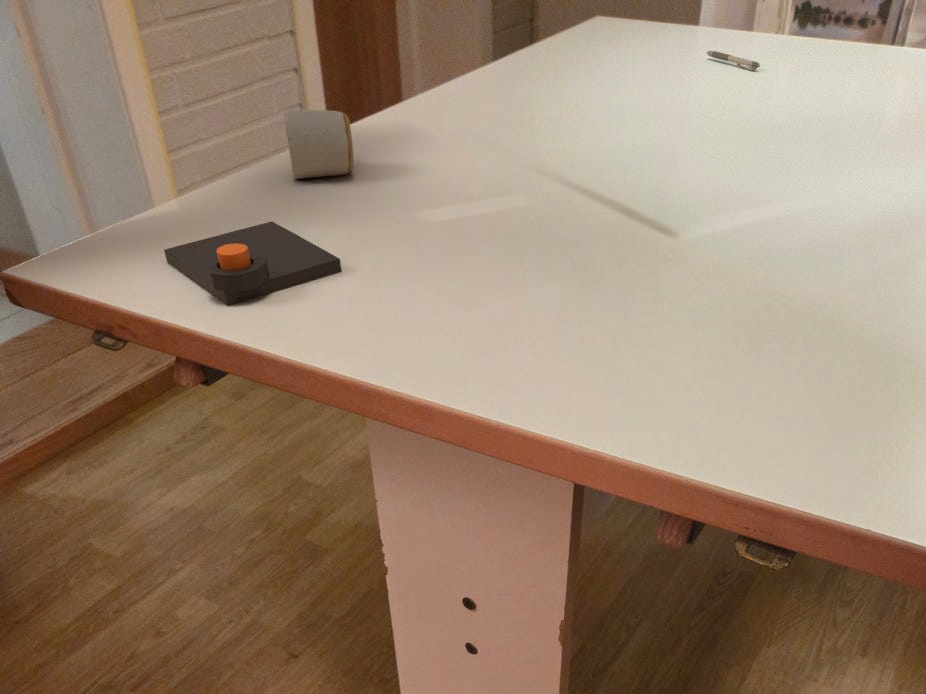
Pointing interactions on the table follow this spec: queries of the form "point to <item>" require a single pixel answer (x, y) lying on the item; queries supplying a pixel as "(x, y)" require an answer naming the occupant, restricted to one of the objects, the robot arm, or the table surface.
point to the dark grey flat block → (253, 263)
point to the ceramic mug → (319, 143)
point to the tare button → (233, 257)
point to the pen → (735, 60)
